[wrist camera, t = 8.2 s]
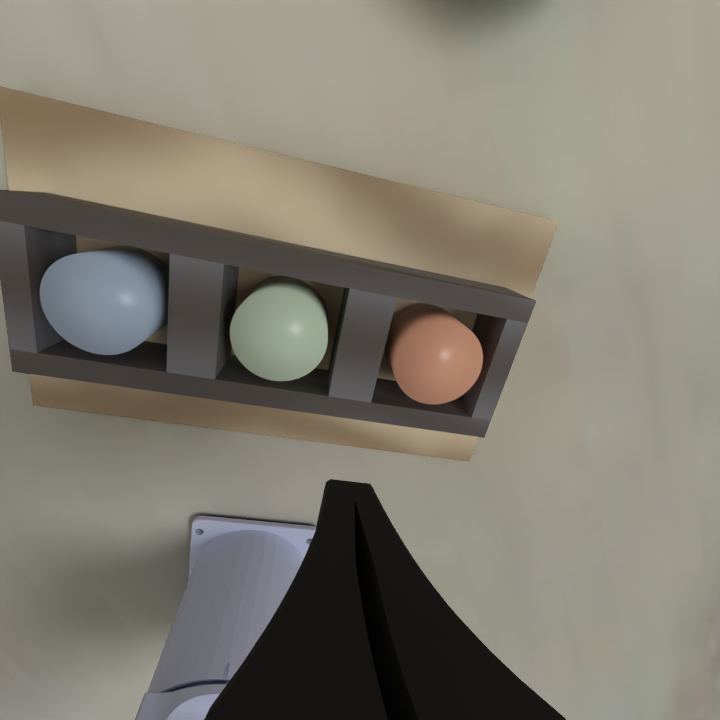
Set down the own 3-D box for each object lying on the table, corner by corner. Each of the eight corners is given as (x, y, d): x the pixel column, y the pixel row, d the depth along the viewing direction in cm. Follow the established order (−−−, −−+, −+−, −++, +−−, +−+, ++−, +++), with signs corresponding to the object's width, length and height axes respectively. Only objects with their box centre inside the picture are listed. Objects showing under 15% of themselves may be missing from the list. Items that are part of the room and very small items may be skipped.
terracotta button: (448, 382, 20) (467, 410, 18) (376, 371, 20) (384, 397, 17) (470, 312, 19) (495, 329, 16) (394, 297, 18) (406, 313, 16)
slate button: (177, 339, 18) (151, 362, 16) (88, 324, 18) (44, 346, 15) (181, 255, 17) (152, 265, 14) (84, 237, 16) (34, 242, 14)
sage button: (320, 361, 19) (319, 387, 17) (240, 349, 19) (225, 373, 16) (334, 285, 18) (335, 299, 15) (248, 269, 17) (234, 280, 15)
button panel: (463, 451, 24) (489, 496, 20) (46, 396, 20) (-17, 438, 17) (547, 221, 19) (601, 224, 15) (16, 93, 15) (-82, 56, 12)
